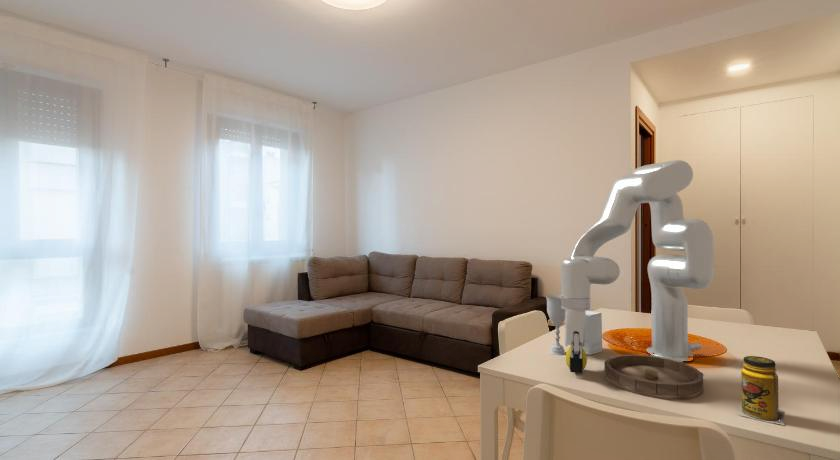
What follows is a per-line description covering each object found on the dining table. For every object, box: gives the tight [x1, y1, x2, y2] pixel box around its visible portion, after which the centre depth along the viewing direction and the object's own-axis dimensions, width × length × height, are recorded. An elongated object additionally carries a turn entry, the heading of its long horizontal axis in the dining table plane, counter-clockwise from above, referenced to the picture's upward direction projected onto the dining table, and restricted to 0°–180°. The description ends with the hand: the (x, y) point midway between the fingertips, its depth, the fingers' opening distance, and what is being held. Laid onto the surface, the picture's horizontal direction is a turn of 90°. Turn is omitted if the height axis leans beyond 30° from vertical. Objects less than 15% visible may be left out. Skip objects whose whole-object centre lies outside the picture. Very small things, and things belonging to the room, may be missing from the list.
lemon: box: [565, 345, 588, 370], centre depth 111 cm, size 6×6×8 cm
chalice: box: [544, 294, 567, 356], centre depth 129 cm, size 7×7×18 cm
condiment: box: [738, 355, 785, 426], centre depth 86 cm, size 7×8×12 cm
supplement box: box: [569, 310, 603, 356], centre depth 131 cm, size 7×7×13 cm
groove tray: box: [603, 354, 704, 401], centre depth 105 cm, size 22×22×4 cm
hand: (576, 367), depth 111 cm, fingers closed on lemon, 5 cm apart
